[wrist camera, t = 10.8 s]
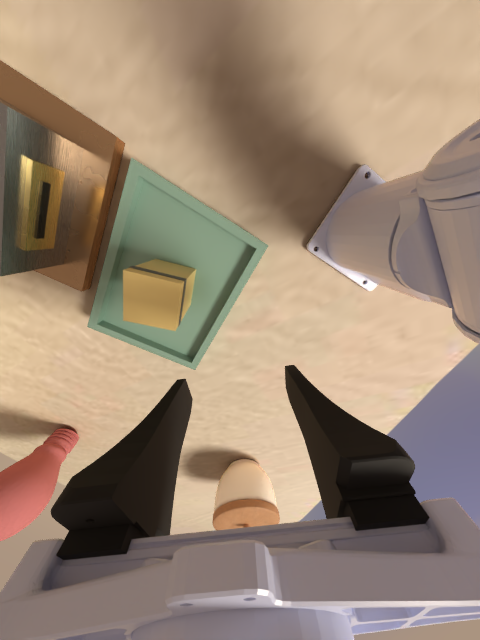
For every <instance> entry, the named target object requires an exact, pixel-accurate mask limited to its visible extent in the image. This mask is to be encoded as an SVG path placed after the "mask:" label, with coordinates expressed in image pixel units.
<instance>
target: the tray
mask: <svg viewBox="0 0 480 640" xmlns="http://www.w3.org/2000/svg"><path fill="white" fill-rule="evenodd" d="M267 247H268V245H267V244H265V243H264V242H262V241H261V240H259V239H257V238H256V237H254V236H253V235H251V234H250V233H248V232H247V231H245V230H243V229H242V228H240V227H239V226H237V225H236V224H234V223H233V222H231V221H229V220H228V219H226V218H225V217H223V216H222V215H220V214H218V213H217V212H215V211H214V210H212V209H211V208H209V207H208V206H206V205H204V204H203V203H201V202H200V201H198V200H197V199H195V198H194V197H192V196H190V195H189V194H187V193H186V192H184V191H183V190H181V189H180V188H178V187H176V186H175V185H173V184H172V183H170V182H169V181H167V180H166V179H164V178H162V177H161V176H159V175H158V174H156V173H155V172H153V171H152V170H150V169H148V168H147V167H145V166H144V165H142V164H141V163H139V162H138V161H136V160H134V159H133V158H131V161H130V165H129V169H128V172H127V176H126V180H125V184H124V188H123V192H122V196H121V199H120V203H119V207H118V211H117V215H116V219H115V222H114V226H113V230H112V234H111V238H110V242H109V245H108V249H107V253H106V257H105V261H104V265H103V269H102V272H101V276H100V280H99V284H98V288H97V292H96V295H95V299H94V303H93V307H92V311H91V315H90V319H89V322H88V326H87V327H89V328H91V329H94V330H96V331H99V332H101V333H104V334H106V335H109V336H111V337H114V338H116V339H119V340H121V341H124V342H126V343H129V344H131V345H134V346H136V347H139V348H141V349H144V350H146V351H149V352H151V353H154V354H156V355H159V356H161V357H164V358H166V359H169V360H171V361H174V362H176V363H179V364H181V365H184V366H186V367H189V368H191V369H194V370H195V369H196V367H197V366H198V364H199V362H200V361H201V359H202V357H203V356H204V354H205V352H206V351H207V349H208V347H209V345H210V344H211V342H212V340H213V339H214V337H215V335H216V334H217V332H218V330H219V329H220V327H221V325H222V323H223V322H224V320H225V318H226V317H227V315H228V313H229V312H230V310H231V308H232V307H233V305H234V303H235V301H236V300H237V298H238V296H239V295H240V293H241V291H242V290H243V288H244V286H245V284H246V283H247V281H248V279H249V278H250V276H251V274H252V273H253V271H254V269H255V268H256V266H257V264H258V262H259V261H260V259H261V257H262V256H263V254H264V252H265V251H266V249H267ZM154 259H159V260H163V261H167V262H170V263H174V264H178V265H182V266H186V267H190V268H194V269H196V274H195V280H194V286H193V293H192V299H191V305H190V307H189V308H188V310H187V312H186V314H185V315H184V317H183V319H182V320H181V324H180V325H179V327H177V329H176V331H172V330H167V329H162V328H157V327H152V326H148V325H143V324H138V323H133V322H128V321H123V270H124V269H127V268H129V267H130V266H136V265H139V264H142V263H145V262H148V261H151V260H154Z"/></svg>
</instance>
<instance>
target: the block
mask: <svg viewBox="0 0 480 640" xmlns="http://www.w3.org/2000/svg"><path fill="white" fill-rule="evenodd" d="M195 274H196V269H194V268H190V267H186V266H182V265H178V264H174V263H170V262H167V261H163V260H159V259H154V260H151V261H148V262H145V263H142V264H139V265H136V266H130V267H129V268H127V269H124V270H123V321H128V322H133V323H138V324H143V325H148V326H152V327H157V328H162V329H167V330H172V331H176V329H177V327H179V325H180V324H181V320H182V319H183V317H184V315H185V314H186V312H187V310H188V308H189V307H190V305H191V299H192V293H193V286H194V280H195Z"/></svg>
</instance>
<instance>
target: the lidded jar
mask: <svg viewBox="0 0 480 640" xmlns="http://www.w3.org/2000/svg"><path fill="white" fill-rule="evenodd" d="M279 520H280V518H279V512H278V509H277V504H276V498H275V494H274V490H273V487H272V484H271V481H270V479H269V477H268V475H267V474H266V472H265V471H264V470H263V469H262V468H261V467H260V466H259V464H258V463H257V462H256V461H254V460H250V459H239V460H236V461H234V462H232V463H231V464H230V465H229V467H228V469H227V470H226V471H225V472H224V473H223V475H222V477H221V479H220V481H219V484H218V487H217V491H216V497H215V507H214V514H213V526H214V528H215V529H216V530H225V529H235V528H245V527H254V526H264V525H274V524H278V523H279Z"/></svg>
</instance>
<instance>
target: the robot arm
mask: <svg viewBox="0 0 480 640" xmlns="http://www.w3.org/2000/svg"><path fill="white" fill-rule="evenodd" d="M366 173H367V174H368V177H367V179H366V178H365V174H366ZM316 246H317V251H314V248H315V247H316ZM307 250H308V251H309V252H311V253H312V254H314V255H315V256H317V257H318V258H320V259H321V260H323V261H324V262H326V263H327V264H329V265H330V266H332V267H333V268H335V269H336V270H337V271H339V272H340V273H342V274H343V275H345V276H346V277H348V278H349V279H351V280H352V281H354V282H355V283H357V284H358V285H360V286H361V287H363V288H364V289H366V290H368V291H372V290H374V289H375V287H376V286H377V285H381V286H384V287H387V288H389V289H392V290H395V291H398V292H400V293H403V294H406V295H409V296H412V297H414V298H417V299H420V300H424V301H428V302H435V303H437V304H440V305H443V306H446V307H449V308H452V314H453V321H454V323H455V325H456V327H457V328H458V329H459V330H460V331H461V332H462V333H463V334H464V335H465V336H466V337H468V338H469V339H471V340H473V341H474V342H476V343H479V344H480V119H479V120H478V121H476V122H475V123H473V124H472V125H470V126H469V127H468V128H466V129H465V130H463V131H462V132H461V133H459V134H458V135H457V136H455V137H454V138H453V139H451V140H450V141H449V142H448V143H447V144H445V145H444V146H443V147H442V148H441V149H440V150H439V151H438V152H437V153H436V154H435V155H434V156H433V157H432V159H431V160H430V162H429V163H428V165H427V166H426V168H425V169H424V170H422V171H419V172H416V173H413V174H410V175H407V176H404V177H401V178H398V179H395V180H392V181H388V182H385V181H384V180H383V179H382V178H381V177H380V176H379V175H378V174H376V173H375V172H374V171H373V170H372V169H371V168H370V167H369V166H368V165H362V166H360V167H359V168H358V169H357V170H356V172H355V173H354V175H353V176H352V178H351V179H350V181H349V182H348V184H347V185H346V187H345V188H344V190H343V191H342V193H341V194H340V196H339V197H338V199H337V200H336V202H335V203H334V205H333V206H332V208H331V209H330V211H329V212H328V214H327V215H326V217H325V218H324V220H323V221H322V223H321V224H320V226H319V227H318V229H317V230H316V232H315V233H314V235H313V236H312V238H311V239H310V241H309V242H308V244H307ZM363 281H365V283H364V284H363ZM285 379H286V390H287V394H288V397H289V401H290V403H291V406H292V409H293V411H294V414H295V416H296V419H297V421H298V424H299V426H300V429H301V431H302V434H303V437H304V440H305V443H306V446H307V450H308V453H309V456H310V460H311V463H312V467H313V470H314V474H315V477H316V481H317V484H318V488H319V492H320V495H321V499H322V503H323V507H324V510H325V514H326V518H327V519H323V520H313V521H303V522H293V523H284V524H274V525H264V526H254V527H245V528H235V529H225V530H216V531H206V532H196V533H186V534H177V535H170V527H171V517H172V508H173V500H174V492H175V485H176V478H177V471H178V465H179V459H180V453H181V449H182V445H183V441H184V437H185V433H186V429H187V426H188V422H189V418H190V414H191V407H192V396H191V393H190V390H189V388H188V385H187V382H186V379H180V380H177V381H176V382H175V383H174V384H173V386H172V387H171V388H170V389H169V391H168V392H167V393H166V394H165V396H164V397H163V398H162V399H161V401H160V402H159V403H158V404H157V405H156V406H155V408H154V409H153V410H152V411H151V412H150V413H149V414H148V415H147V417H146V418H145V419H144V420H143V421H142V422H141V423H140V424H139V425H138V426H137V427H136V428H135V429H133V430H132V431H131V432H130V433H129V434H128V435H127V436H126V437H125V438H123V439H122V440H121V441H120V442H119V443H118V444H116V445H115V446H114V447H113V448H112V449H110V450H109V451H108V452H106V453H105V454H104V455H103V456H101V457H100V458H99V459H97V460H96V461H95V462H93V463H92V464H90V465H89V466H87V467H86V468H85V469H83V470H82V471H80V472H79V473H77V474H76V475H74V476H73V477H72V478H71V480H70V481H69V483H68V484H67V486H66V488H65V489H64V490H63V492H62V494H61V495H60V496H59V498H58V500H57V501H56V502H55V504H54V506H53V507H52V509H51V515H52V517H53V518H54V519H55V520H56V521H57V522H59V523H60V524H61V525H62V526H64V527H65V528H67V529H68V530H69V532H68V534H67V536H66V538H65V540H63V539H48V540H38V541H35V542H33V543H32V545H31V546H30V548H29V549H28V551H27V552H26V554H25V555H24V557H23V559H22V560H21V562H20V563H19V565H18V566H17V568H16V569H15V571H14V573H13V574H12V576H11V577H10V579H9V580H8V582H7V583H6V585H5V586H4V588H3V590H2V591H1V592H0V640H355V639H354V636H353V635H356V634H364V633H371V632H379V631H386V630H394V629H401V628H408V627H416V626H423V625H431V624H439V623H447V622H455V621H464V620H474V619H480V529H479V528H478V526H477V525H476V524H475V523H474V522H473V520H472V519H471V518H470V517H469V516H468V514H467V513H466V512H465V511H464V510H463V508H462V507H461V506H460V505H459V504H458V502H457V501H456V500H455V499H454V498H441V499H432V500H426V501H423V502H421V503H419V502H418V500H417V499H416V497H415V496H414V494H415V490H414V489H413V487H412V486H411V484H410V483H409V481H410V478H411V476H412V474H413V472H414V469H415V464H414V461H413V460H412V459H411V458H410V456H409V455H408V454H407V453H406V451H405V450H404V449H403V448H402V447H401V446H400V445H399V443H398V442H397V441H396V440H395V439H393V438H391V437H389V436H387V435H385V434H383V433H381V432H379V431H377V430H375V429H373V428H371V427H370V426H368V425H366V424H364V423H363V422H361V421H359V420H358V419H356V418H355V417H353V416H352V415H350V414H348V413H347V412H345V411H344V410H343V409H341V408H340V407H338V406H337V405H336V404H334V403H333V402H332V401H331V400H329V399H328V398H327V397H326V396H324V395H323V394H322V393H321V392H320V391H319V390H318V389H317V388H315V387H314V386H313V385H312V384H311V383H310V382H309V381H308V380H307V379H306V378H305V377H304V376H303V374H302V373H301V372H300V371H299V370H298V369H297V368H296V367H295V366H294V365H289V366H285Z"/></svg>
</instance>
